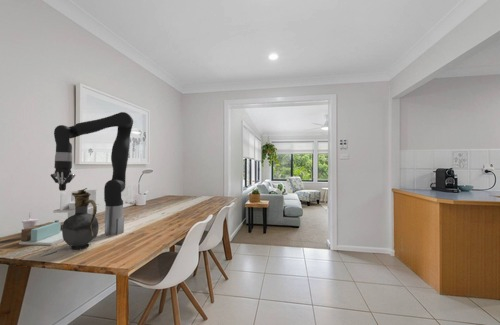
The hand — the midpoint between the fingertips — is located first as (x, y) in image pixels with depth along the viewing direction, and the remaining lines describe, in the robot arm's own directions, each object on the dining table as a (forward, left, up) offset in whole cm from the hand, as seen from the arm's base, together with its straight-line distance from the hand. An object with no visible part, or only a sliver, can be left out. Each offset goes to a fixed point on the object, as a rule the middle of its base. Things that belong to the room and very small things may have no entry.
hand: (62, 190), depth 121 cm
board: (+3, +1, -27) cm, 27 cm away
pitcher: (-24, +14, -27) cm, 39 cm away
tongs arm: (+6, +2, -26) cm, 27 cm away
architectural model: (+13, -29, -27) cm, 42 cm away
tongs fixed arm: (+10, +3, -25) cm, 27 cm away
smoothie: (+19, -1, -27) cm, 33 cm away
